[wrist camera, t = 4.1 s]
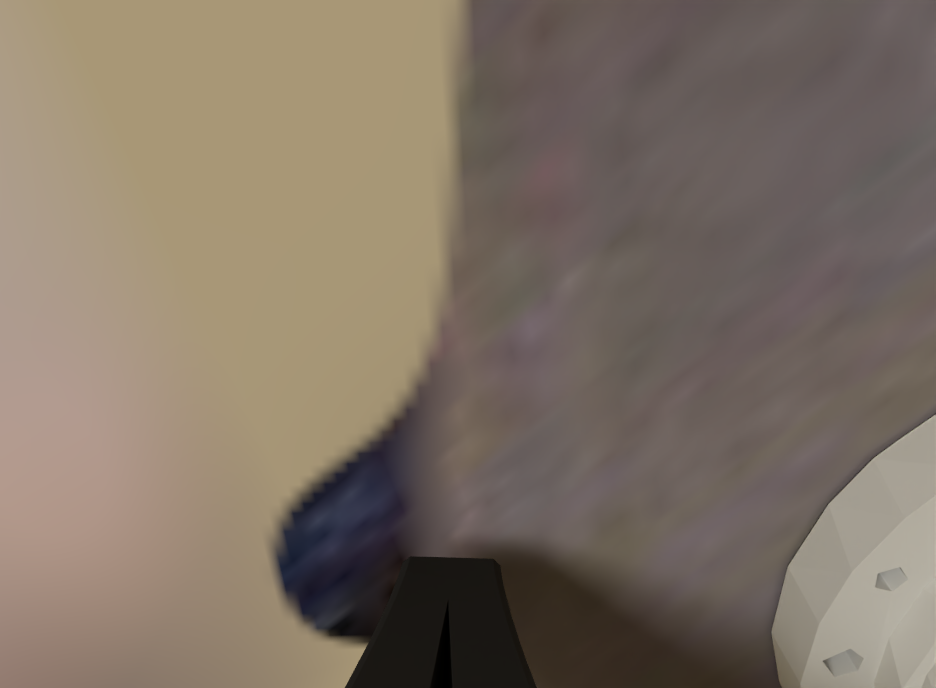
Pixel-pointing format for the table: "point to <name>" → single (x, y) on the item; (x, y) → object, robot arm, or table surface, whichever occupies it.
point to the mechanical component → (867, 580)
